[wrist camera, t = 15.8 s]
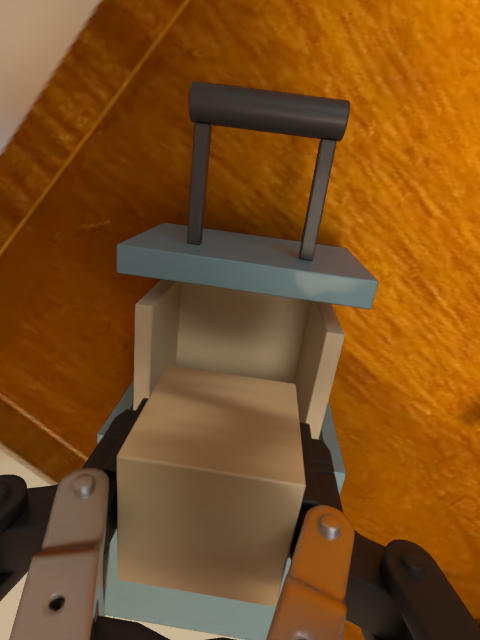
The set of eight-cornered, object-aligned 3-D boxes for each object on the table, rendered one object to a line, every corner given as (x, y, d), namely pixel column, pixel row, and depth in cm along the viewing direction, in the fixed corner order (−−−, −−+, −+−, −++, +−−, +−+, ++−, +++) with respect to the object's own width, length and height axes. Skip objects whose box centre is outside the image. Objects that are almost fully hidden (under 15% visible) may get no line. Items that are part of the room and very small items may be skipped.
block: (161, 463, 15) (116, 581, 11) (167, 363, 13) (115, 455, 9) (275, 482, 15) (275, 608, 10) (296, 383, 13) (306, 486, 9)
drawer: (168, 96, 19) (115, 57, 12) (376, 123, 18) (430, 97, 12) (155, 405, 26) (117, 481, 19) (304, 428, 25) (315, 513, 19)
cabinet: (152, 351, 25) (96, 434, 17) (323, 376, 25) (346, 473, 17) (147, 498, 30) (102, 615, 22) (288, 521, 30) (293, 648, 22)
